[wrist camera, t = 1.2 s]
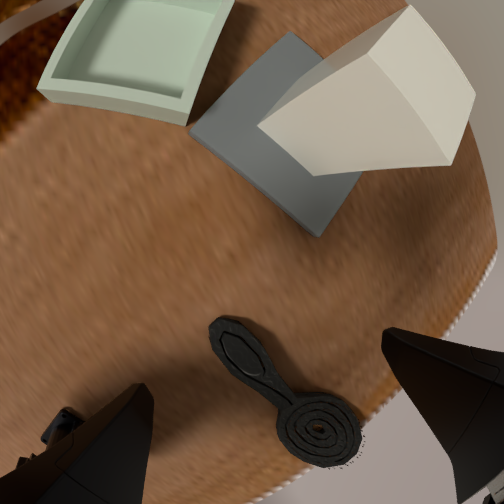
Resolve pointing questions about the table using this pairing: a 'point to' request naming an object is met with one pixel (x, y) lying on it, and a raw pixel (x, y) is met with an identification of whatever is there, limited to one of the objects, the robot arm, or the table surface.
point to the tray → (135, 56)
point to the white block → (376, 103)
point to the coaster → (263, 146)
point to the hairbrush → (299, 405)
